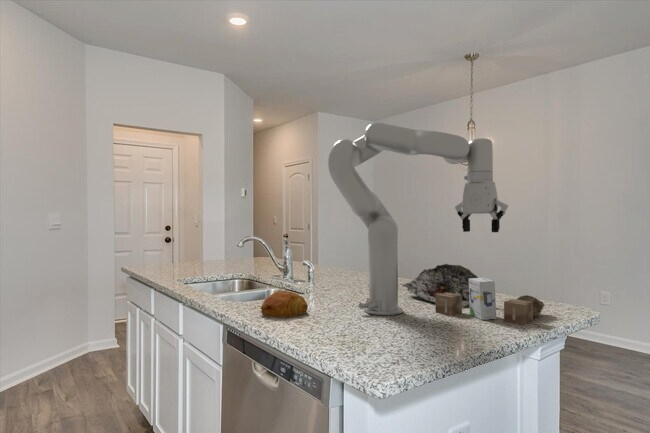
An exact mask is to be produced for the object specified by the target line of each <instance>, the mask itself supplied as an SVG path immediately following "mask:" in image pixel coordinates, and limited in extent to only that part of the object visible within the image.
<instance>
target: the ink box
mask: <svg viewBox="0 0 650 433" xmlns="http://www.w3.org/2000/svg"><path fill="white" fill-rule="evenodd" d="M496 303H497V301H496V282H495V281H494V280H492V279H489V278H486V277H478V278H470V279H469V304H468V305H469V315H471V316H473V317H475V318H477V319H479V320H480V321H486V320H488V321H490V320H489V319H495V320H497V306H496Z"/></svg>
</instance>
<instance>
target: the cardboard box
mask: <svg viewBox="0 0 650 433" xmlns="http://www.w3.org/2000/svg"><path fill="white" fill-rule="evenodd" d="M435 313H436V314H440V313H441V315H446V316H450V317H451V316H456V314H457V315H460V314H463V308H462V295H459V294H453V293H447V292H446V293H441V294H436V303H435Z"/></svg>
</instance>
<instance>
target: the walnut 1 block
mask: <svg viewBox="0 0 650 433" xmlns="http://www.w3.org/2000/svg"><path fill="white" fill-rule="evenodd" d="M516 299H517V298H512V299H509V300H508V299H507V300H506V301H504V302H503V322H504V321H506V323H510V322H511V324H515V323H516V324H515V325H519V326H520V325H522V326H526V325H529V324H531V323H533V322H534V316H533V302H530V301H523V300H516Z"/></svg>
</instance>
